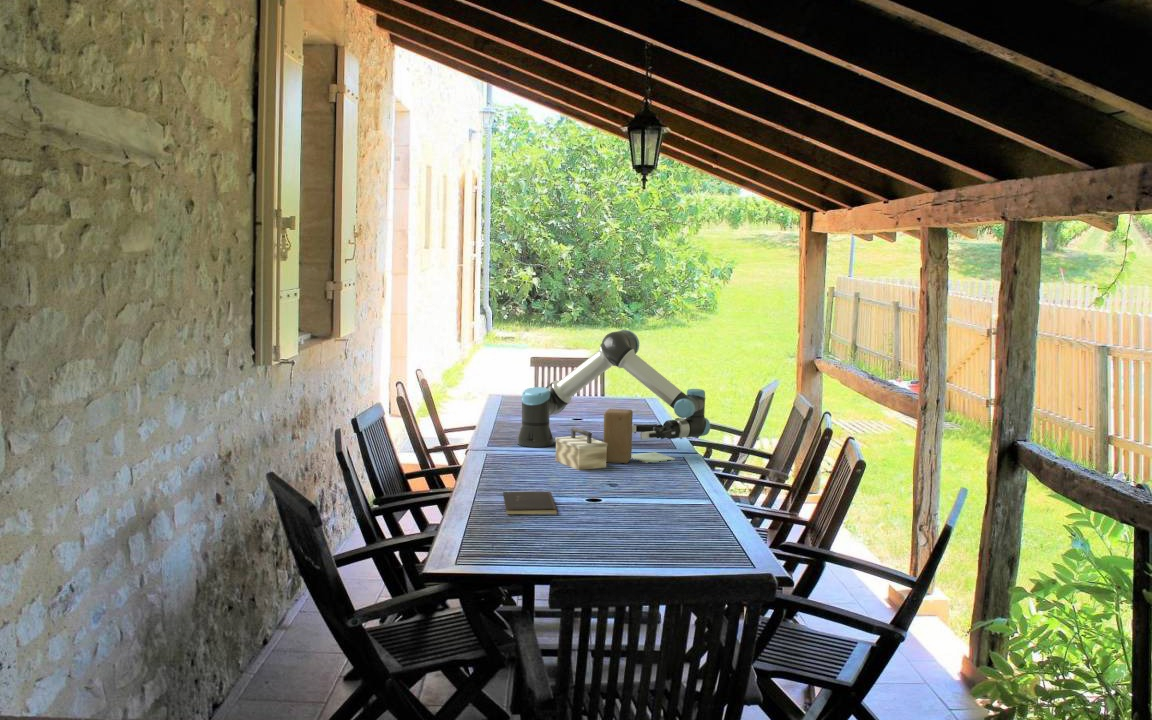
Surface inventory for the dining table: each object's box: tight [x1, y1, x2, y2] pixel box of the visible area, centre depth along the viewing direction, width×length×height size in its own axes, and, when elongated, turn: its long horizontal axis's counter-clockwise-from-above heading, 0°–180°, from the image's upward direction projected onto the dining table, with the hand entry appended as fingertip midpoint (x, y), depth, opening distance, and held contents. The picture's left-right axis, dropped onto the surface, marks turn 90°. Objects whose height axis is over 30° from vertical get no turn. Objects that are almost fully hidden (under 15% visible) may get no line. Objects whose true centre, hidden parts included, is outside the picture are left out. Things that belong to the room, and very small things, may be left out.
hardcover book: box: [502, 491, 559, 515], centre depth 322 cm, size 16×23×2 cm
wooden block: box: [602, 408, 634, 465], centre depth 393 cm, size 10×10×20 cm
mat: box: [631, 451, 676, 464], centre depth 400 cm, size 14×14×1 cm
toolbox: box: [554, 426, 608, 471], centre depth 386 cm, size 18×13×13 cm
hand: (631, 432), depth 395 cm, fingers open, 13 cm apart
